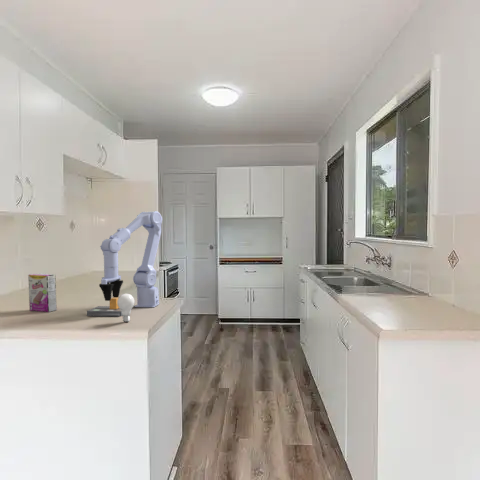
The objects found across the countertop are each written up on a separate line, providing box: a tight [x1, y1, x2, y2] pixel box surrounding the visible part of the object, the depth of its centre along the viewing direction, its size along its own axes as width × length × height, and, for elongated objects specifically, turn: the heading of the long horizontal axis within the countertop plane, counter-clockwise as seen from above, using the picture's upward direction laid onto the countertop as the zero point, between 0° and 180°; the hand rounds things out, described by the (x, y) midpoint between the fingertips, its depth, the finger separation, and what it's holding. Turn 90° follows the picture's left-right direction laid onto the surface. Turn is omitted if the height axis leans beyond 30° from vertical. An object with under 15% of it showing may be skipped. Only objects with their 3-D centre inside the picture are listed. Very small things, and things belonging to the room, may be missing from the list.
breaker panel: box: [86, 305, 123, 317], centre depth 166 cm, size 15×10×2 cm, turn 83°
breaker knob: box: [109, 296, 120, 309], centre depth 165 cm, size 3×4×4 cm
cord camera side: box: [90, 313, 121, 318], centre depth 160 cm, size 13×1×1 cm, turn 83°
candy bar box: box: [27, 273, 57, 313], centre depth 174 cm, size 11×5×16 cm, turn 71°
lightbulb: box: [117, 293, 135, 323], centre depth 149 cm, size 6×6×11 cm
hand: (111, 298), depth 165 cm, fingers open, 7 cm apart
